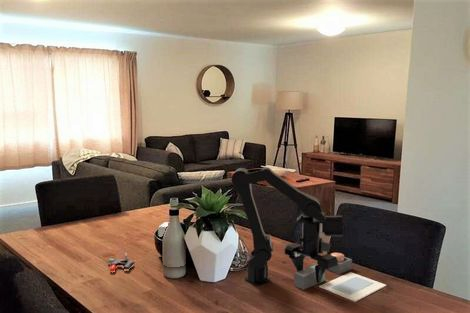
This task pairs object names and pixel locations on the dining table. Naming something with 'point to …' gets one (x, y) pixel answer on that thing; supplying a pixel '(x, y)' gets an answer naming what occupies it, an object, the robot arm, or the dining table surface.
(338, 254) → the button
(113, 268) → the grey and red toy
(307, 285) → the grey and teal block
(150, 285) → the dining table surface
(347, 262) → the button housing
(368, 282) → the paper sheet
